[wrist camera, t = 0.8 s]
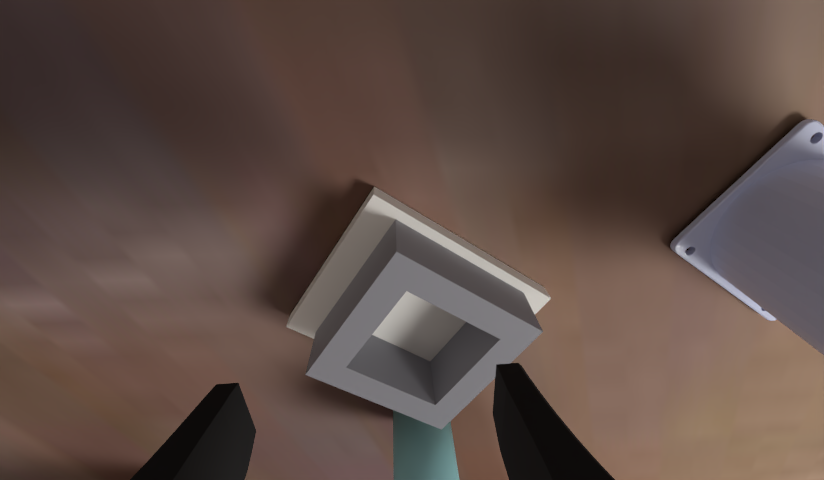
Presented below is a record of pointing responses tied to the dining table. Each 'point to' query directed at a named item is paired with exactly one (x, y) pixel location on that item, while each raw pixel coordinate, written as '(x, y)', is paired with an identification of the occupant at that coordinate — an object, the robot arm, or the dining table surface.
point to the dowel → (422, 450)
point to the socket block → (414, 313)
